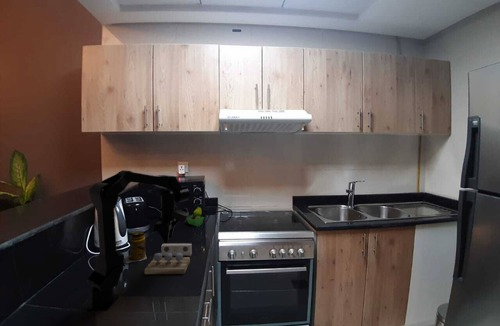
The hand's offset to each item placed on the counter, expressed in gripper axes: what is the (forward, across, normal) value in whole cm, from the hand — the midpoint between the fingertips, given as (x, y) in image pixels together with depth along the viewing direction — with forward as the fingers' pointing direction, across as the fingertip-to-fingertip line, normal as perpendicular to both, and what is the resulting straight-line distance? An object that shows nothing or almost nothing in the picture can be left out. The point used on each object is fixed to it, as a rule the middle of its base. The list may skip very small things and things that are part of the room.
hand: (168, 240), depth 93 cm
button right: (+10, 0, -5) cm, 11 cm away
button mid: (+10, 0, 0) cm, 10 cm away
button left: (+10, 0, +4) cm, 11 cm away
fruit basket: (+12, +58, 0) cm, 59 cm away
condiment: (+12, +9, +18) cm, 24 cm away
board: (+12, 0, 0) cm, 12 cm away
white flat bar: (+12, +12, 0) cm, 17 cm away
